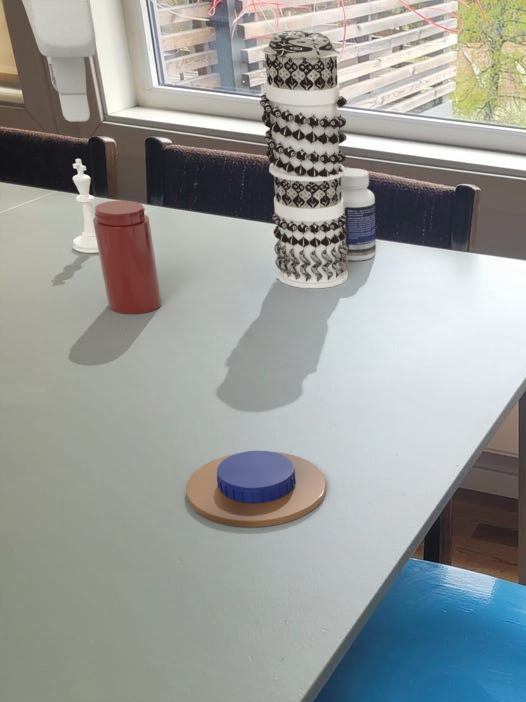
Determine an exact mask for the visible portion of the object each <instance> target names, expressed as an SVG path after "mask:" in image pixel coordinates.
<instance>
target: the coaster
mask: <svg viewBox="0 0 526 702" xmlns="http://www.w3.org/2000/svg"><path fill="white" fill-rule="evenodd" d="M274 452H275V453H278V454H281V455H283V456H285V457H287V458H288V459H289V460H290V461H291V462H292V463H293V466H294V469H295V481H296V484H295V485H294V489H292V490H291V492H289V494H287V495H285V496H284V497H282V498H279V499H277V500H274V501H269V502H264V503H244V502H239V501H235V500H232V499H230V498H228V497H226V496H225V495H224V494H223V493H222V492H220V488H218V483H217V468H218V466H219V464H220V463H221V462H222V461H223V460H225V459H226V458H228V457H230V456H232V455H235V454H238V453H239V452H238V453H232V454H230V455H229V454H228V455H225V456H221V457H218V458H216V459H213V460H211V461H209V462H207V463H205V464H203V465H201V466H200V467H199V468H198V469H196V470H195V471H194V472H193V473H192V474H191V475H190V477H189V478H188V481H187V483H186V487H185V491H186V498H187V502H188V504H189V506H190V507H191V508H192V509H193V511H195V512H196V514H198V515H199V516H201V517H203V518H205V519H207V520H209V521H212V522H214V523H218V524H221V525H226V526H231V527H238V528H239V527H240V528H264V527H271V526H277V525H282V524H285V523H289V522H292V521H295V520H298V519H300V518H302V517H304V516H306V515H308V514H309V513H311V512H313V511H314V510H315V509H316V508H317V507H318V506H319V505H321V503H322V501H323V500H324V498H325V496H326V493H327V492H326V491H327V483H326V477H325V475H324V474H323V472H322V471H321V469H320V468H319V467H318V466H317V465H315V464H314V463H312V462H311V461H309V460H307V459H305V458H302V457H300V456H296V455H294V454H289V453H285V452H277V451H274Z"/></svg>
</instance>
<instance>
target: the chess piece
mask: <svg viewBox="0 0 526 702" xmlns="http://www.w3.org/2000/svg"><path fill="white" fill-rule="evenodd" d="M72 168H73V169H75V170H76V171H77V174H75V175H73V176H72V181H73V183H74V185H75V186H76V189H77V191H78V193H79V195H77V196H76V198H75V201H76V202H78V203H81V205H82V206H81V207H82V217H83V220H82V221H83V231H82V232H81V235H79V236H77V237H74V239H73V240H72V244H73V245H72V248H73V249H74V250H75V251H76V252H80V253H86V254H99V251H98V246H97V240H96V235H95V229H94V224H93V219H94V218H95V213H94V211H93V208H92V204H91V202H94V201H95V200H96V199H95V196H94V195H91V194H90V186H91V180H92V179H91V177H90V176H89V175H88V174H85V173H84V172H85V171H87V166H86V165H83V163H82V159H81V158H76V159H75V163H72Z"/></svg>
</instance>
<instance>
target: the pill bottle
mask: <svg viewBox="0 0 526 702" xmlns="http://www.w3.org/2000/svg"><path fill="white" fill-rule="evenodd" d="M369 175H370V173H369V171H367V170H366V169H362V168H353V167H352V168H350V167H349V168H348V167H347V168H344V175H342V176H341V197H342V198H343V213H344V214H345V216H346V218H347V221H346V222H345V225H344V226H343V227H344V228H345V230H346V231H347V235H346V238H345V239H344V240H343V241H344V242H345V243H346V246H347V247H348V251H347V252H346V253H347V255H346V258H347V260H348V261H354V262H355V261H356V262H359V261H361V262H362V261H366V260H369V259H372V258H373V257H375V255H376V252H377V251H376V250H377V245H376V244H377V242H376V241H377V240H376V197H375V193H374V192H373V191H371V190H370V189H368V187H369V186H370V176H369Z"/></svg>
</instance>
